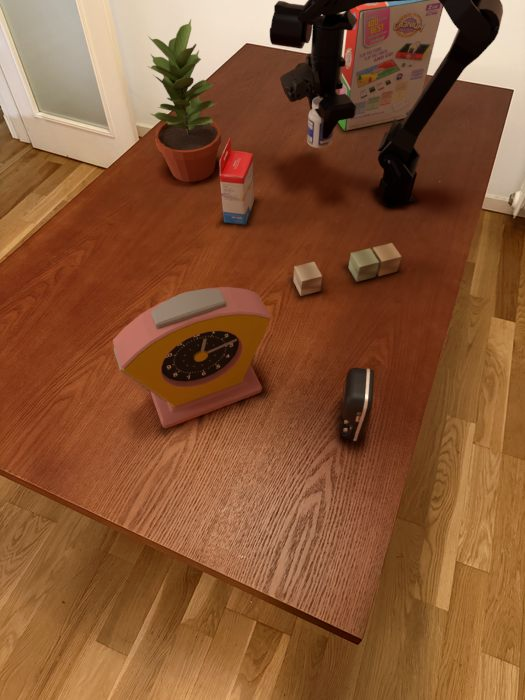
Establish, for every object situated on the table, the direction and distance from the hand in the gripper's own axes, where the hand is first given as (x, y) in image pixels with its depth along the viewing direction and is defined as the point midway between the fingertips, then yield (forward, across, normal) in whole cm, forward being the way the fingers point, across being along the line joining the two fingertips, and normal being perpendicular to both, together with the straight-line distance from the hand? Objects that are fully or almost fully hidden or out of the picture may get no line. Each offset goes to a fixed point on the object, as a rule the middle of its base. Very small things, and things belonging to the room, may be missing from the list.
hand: (320, 131), depth 105 cm
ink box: (+12, +6, -20) cm, 24 cm away
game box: (+12, -19, +24) cm, 33 cm away
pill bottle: (+3, 0, 0) cm, 3 cm away
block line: (+12, +30, -5) cm, 33 cm away
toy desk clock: (+12, +47, -37) cm, 61 cm away
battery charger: (+12, +60, -16) cm, 63 cm away
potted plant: (+12, -12, -26) cm, 31 cm away
